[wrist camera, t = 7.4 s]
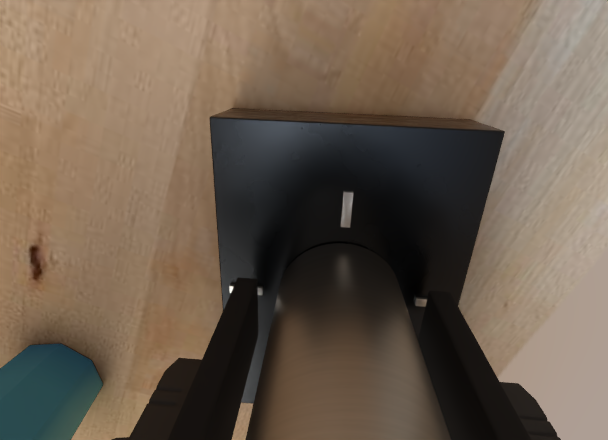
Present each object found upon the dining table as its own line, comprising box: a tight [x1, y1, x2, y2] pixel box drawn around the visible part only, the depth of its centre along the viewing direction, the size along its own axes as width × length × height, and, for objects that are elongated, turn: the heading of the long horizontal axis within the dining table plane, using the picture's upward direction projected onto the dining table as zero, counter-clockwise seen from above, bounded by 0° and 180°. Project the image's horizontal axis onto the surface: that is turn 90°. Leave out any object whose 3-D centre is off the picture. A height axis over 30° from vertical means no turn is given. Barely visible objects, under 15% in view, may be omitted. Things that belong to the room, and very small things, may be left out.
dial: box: [246, 243, 451, 440], centre depth 11 cm, size 5×5×8 cm
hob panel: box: [210, 108, 505, 403], centre depth 16 cm, size 14×10×3 cm
